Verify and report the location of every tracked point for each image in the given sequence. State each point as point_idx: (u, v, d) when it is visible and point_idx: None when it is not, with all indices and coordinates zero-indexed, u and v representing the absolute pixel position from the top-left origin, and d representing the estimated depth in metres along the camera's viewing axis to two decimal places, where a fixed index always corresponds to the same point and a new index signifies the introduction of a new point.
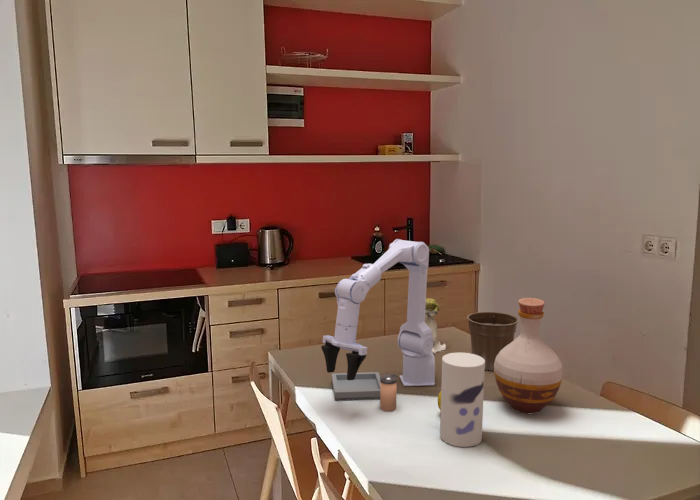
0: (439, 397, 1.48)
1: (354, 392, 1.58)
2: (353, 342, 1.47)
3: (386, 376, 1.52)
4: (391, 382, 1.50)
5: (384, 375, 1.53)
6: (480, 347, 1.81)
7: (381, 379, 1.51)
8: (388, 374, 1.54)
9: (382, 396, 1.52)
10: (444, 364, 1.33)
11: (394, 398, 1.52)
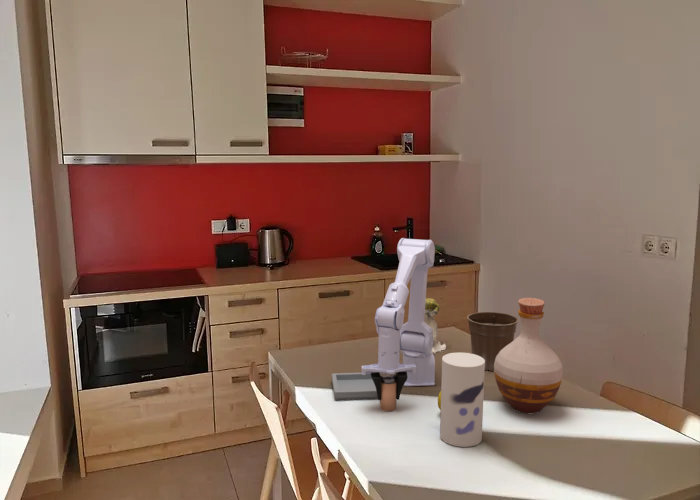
0: (439, 397, 1.48)
1: (354, 392, 1.58)
2: None
3: (386, 376, 1.52)
4: (391, 382, 1.50)
5: (384, 375, 1.53)
6: (480, 347, 1.81)
7: (381, 379, 1.51)
8: (388, 374, 1.54)
9: (382, 396, 1.52)
10: (444, 364, 1.33)
11: (394, 398, 1.52)
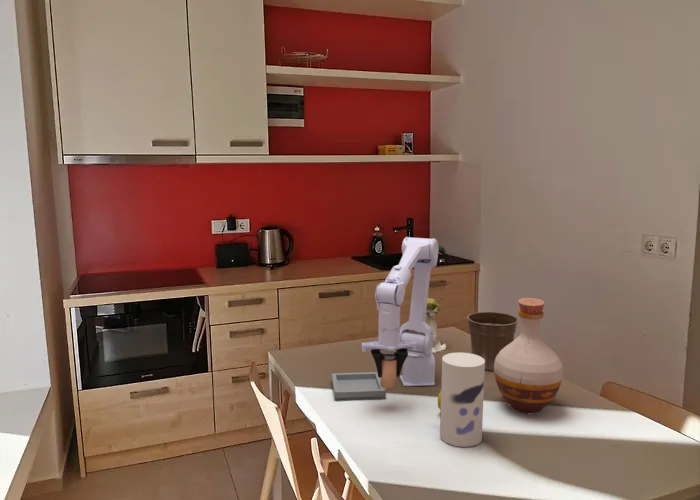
0: (439, 397, 1.48)
1: (354, 392, 1.58)
2: None
3: (386, 353, 1.51)
4: (391, 359, 1.49)
5: (384, 352, 1.52)
6: (480, 347, 1.81)
7: None
8: (388, 351, 1.53)
9: (382, 373, 1.51)
10: (444, 364, 1.33)
11: (394, 375, 1.51)
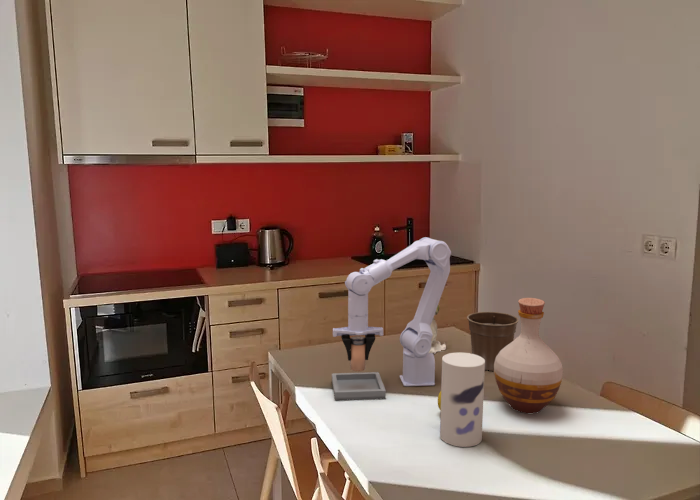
0: (439, 397, 1.48)
1: (354, 392, 1.58)
2: None
3: (356, 338, 1.63)
4: (360, 343, 1.61)
5: (353, 337, 1.64)
6: (480, 347, 1.81)
7: (351, 341, 1.62)
8: (358, 337, 1.65)
9: (352, 357, 1.63)
10: (444, 364, 1.33)
11: (363, 359, 1.63)
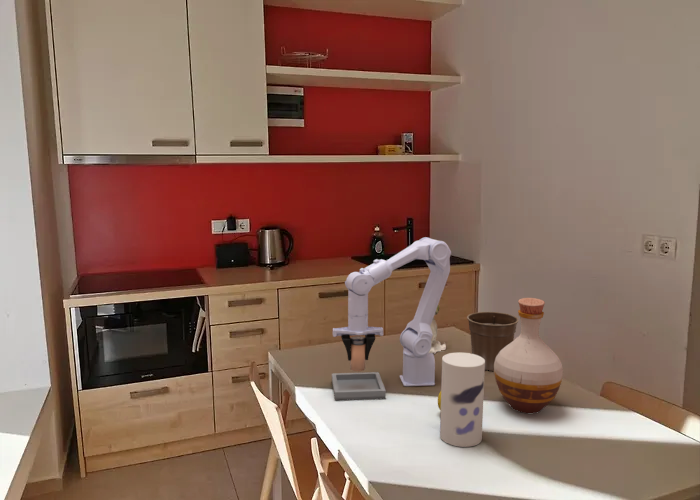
0: (439, 397, 1.48)
1: (354, 392, 1.58)
2: None
3: (356, 338, 1.63)
4: (360, 343, 1.61)
5: (353, 337, 1.64)
6: (480, 347, 1.81)
7: (351, 341, 1.62)
8: (357, 337, 1.65)
9: (352, 357, 1.63)
10: (444, 364, 1.33)
11: (363, 358, 1.63)
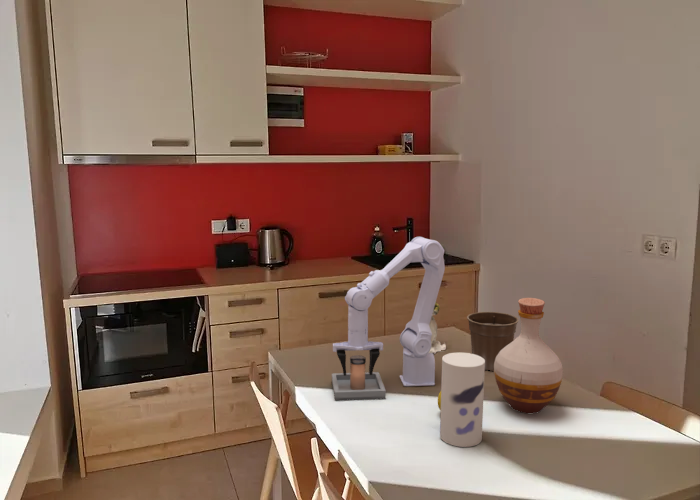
0: (439, 397, 1.48)
1: (354, 392, 1.58)
2: None
3: (355, 357, 1.64)
4: (360, 363, 1.62)
5: (353, 357, 1.65)
6: (480, 347, 1.81)
7: (351, 360, 1.63)
8: (357, 356, 1.66)
9: (351, 376, 1.64)
10: (444, 364, 1.33)
11: (363, 378, 1.64)
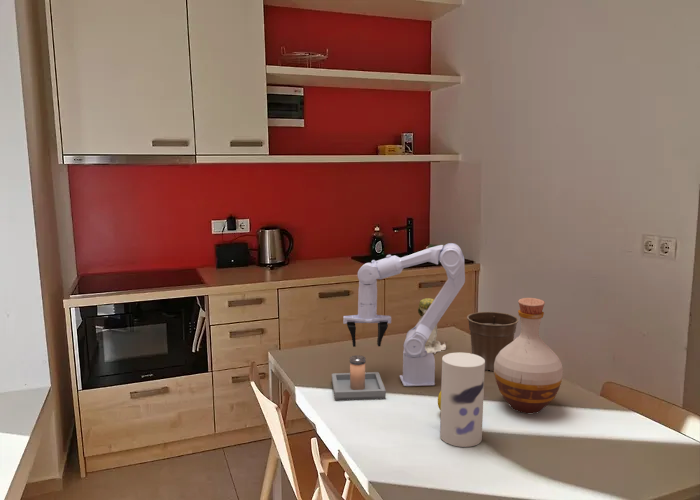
0: (439, 397, 1.48)
1: (354, 392, 1.58)
2: None
3: (355, 358, 1.64)
4: (360, 363, 1.62)
5: (353, 357, 1.65)
6: (480, 347, 1.81)
7: (351, 360, 1.63)
8: (357, 356, 1.66)
9: (351, 376, 1.64)
10: (444, 364, 1.33)
11: (363, 378, 1.64)
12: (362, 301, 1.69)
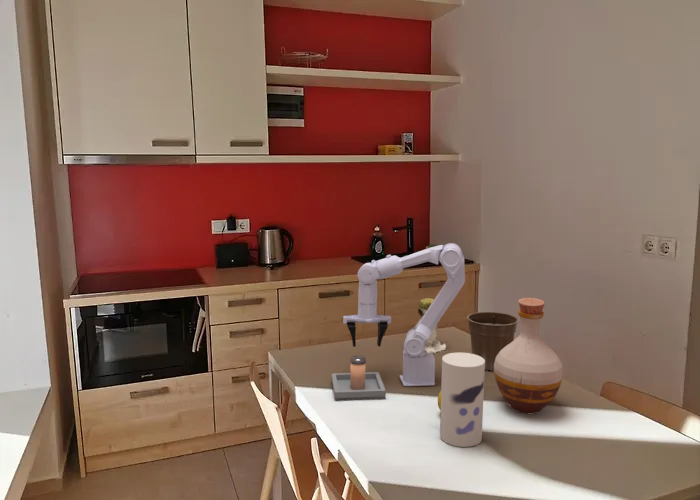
0: (439, 397, 1.48)
1: (354, 392, 1.58)
2: None
3: (356, 357, 1.64)
4: (360, 363, 1.62)
5: (354, 356, 1.65)
6: (480, 347, 1.81)
7: (351, 360, 1.63)
8: (358, 356, 1.66)
9: (352, 376, 1.64)
10: (444, 364, 1.33)
11: (363, 378, 1.64)
12: (362, 301, 1.69)
